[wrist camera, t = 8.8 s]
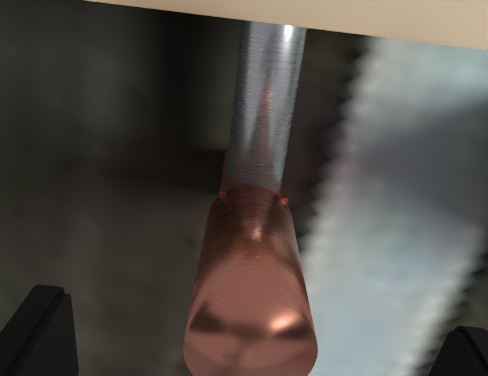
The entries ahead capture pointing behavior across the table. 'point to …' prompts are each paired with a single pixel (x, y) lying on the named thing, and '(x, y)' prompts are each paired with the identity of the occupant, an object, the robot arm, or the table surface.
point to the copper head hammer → (254, 228)
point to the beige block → (352, 16)
